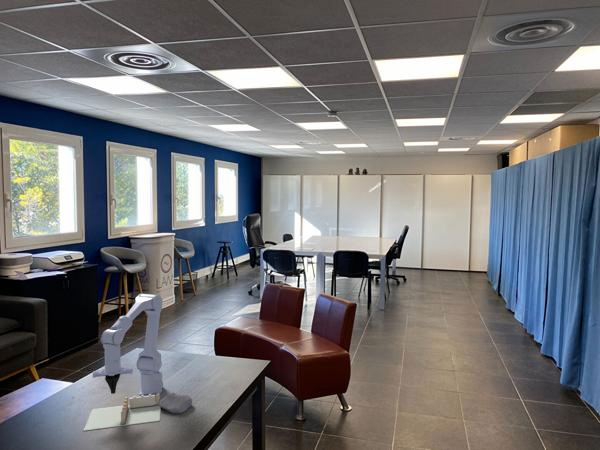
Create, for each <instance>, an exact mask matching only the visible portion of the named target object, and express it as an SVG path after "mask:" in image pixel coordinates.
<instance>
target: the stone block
mask: <svg viewBox="0 0 600 450" xmlns="http://www.w3.org/2000/svg"><path fill="white" fill-rule="evenodd" d="M192 405H193V398H192V396H190V395H189V394H177V393H175V392H172V393H170V394H168V395H165V396H164V397H162V398H160V403H159V406H160V407H161V409H163V410H166V411H167V412H170V413H172V414H182V413H184V412H186V411H187V410H188V409H189V408H191V406H192Z"/></svg>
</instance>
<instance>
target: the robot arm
mask: <svg viewBox="0 0 600 450" xmlns="http://www.w3.org/2000/svg"><path fill="white" fill-rule="evenodd" d="M162 305H163V298H162V297H161V295H160V294H149V293H139V294H138V295H137V296H136V297H135V299H134V304H133V305H132V306H131V308H130V309H129V310H128V312H127V313H126V314H125V315H121V316H119V318H118V319H117V320H116V321H115V322H114V324H113V325H112V326H111V327H110V328H107V329H106V330H104V331H103V332H102V334H101V336H100V342H101V344H102V348H103V349H104V369H100V370H99V369H98V370H93V371H92V379H95V378H98V377H105V378H104V379H105V382H106V383H107V385H108V388H109V390H110V394H111V395H112V394H113V395H114V394H116V390H117V384H118V382H119V380H120V377H121V375H133V372H134V371H133V368H134V367H123V366H121V365H122V364H121V343H123V341H124V337H125V335H126V333H127V332H128V330H130V328H131V327H132V326H133V321H134V320H135V319H136V317H137V316H139V315H140V314H141V313H142V312H143V311H144V312H145V313H146V314H147V321H146V328H145V329H146V330H145V337H144V345H143V347H144V348H143V350H141V351H140V352H139V353H138V357H137V360H136V369H137V370H138V371H139V373H140V389H139V393H138V395H139V396H141V395H144V396H146V395H149V394H151V395H155V394H157V393H160V394H161V393H163V387H164V382H163V369H161V368H162V354H161V353H160V351H158V349H157V345H158V337H159V330H160V329H159V327H160V318H161V317H160V316H161V313H162V309H163V306H162Z"/></svg>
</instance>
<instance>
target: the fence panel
mask: <svg viewBox="0 0 600 450" xmlns="http://www.w3.org/2000/svg"><path fill="white" fill-rule="evenodd" d="M122 406H123V407H122V411H121V424H124V423H125V419H126V414H127V409H128V407H127V400H125V399H124V400H123V403H122Z"/></svg>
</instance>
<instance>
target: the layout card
mask: <svg viewBox="0 0 600 450" xmlns="http://www.w3.org/2000/svg"><path fill="white" fill-rule="evenodd" d="M122 407H123V405H117V406H108V407H106V406H105V407H101V408H98V407H97V408H92V409H91V411H90V414H89V417H88V419H87V421H86V424H85V426H84V428H83V432H87V431H95V430H102V429H109V428H117V427H124V426H125V427H126V426H132V425H140V424H141V425H142V424H147V423H154V422H155V423H157V422H161V410H162V408H161V407H160V406H159V405H158V406H157V405H156V401H155V405H152V406H144V407H136V408H130V406H129V404H128V409H127V414H126V419H125V423H124V424H121V411H122Z"/></svg>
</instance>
